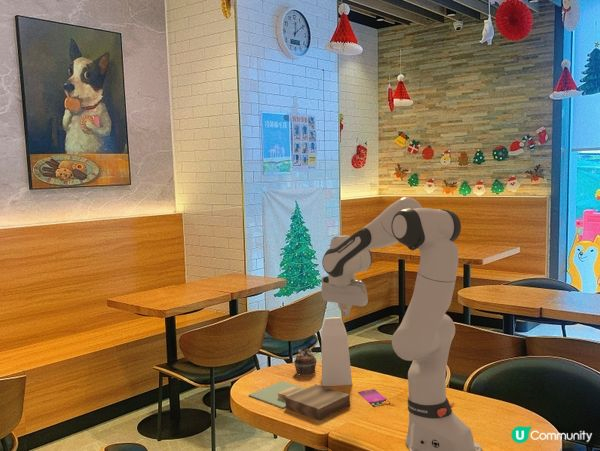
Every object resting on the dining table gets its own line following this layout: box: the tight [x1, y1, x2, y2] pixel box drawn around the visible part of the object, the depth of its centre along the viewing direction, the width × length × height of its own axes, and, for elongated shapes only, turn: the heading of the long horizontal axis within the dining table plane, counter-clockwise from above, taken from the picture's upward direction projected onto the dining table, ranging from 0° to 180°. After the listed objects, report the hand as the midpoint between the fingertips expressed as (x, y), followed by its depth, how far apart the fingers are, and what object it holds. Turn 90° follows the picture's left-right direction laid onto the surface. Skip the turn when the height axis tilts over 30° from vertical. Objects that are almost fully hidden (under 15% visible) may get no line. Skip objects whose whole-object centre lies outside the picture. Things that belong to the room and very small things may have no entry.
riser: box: [285, 384, 351, 421], centre depth 204 cm, size 17×16×4 cm
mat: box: [248, 380, 306, 409], centre depth 218 cm, size 20×18×1 cm
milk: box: [320, 316, 353, 387], centre depth 229 cm, size 12×12×26 cm
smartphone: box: [357, 388, 388, 408], centre depth 209 cm, size 7×15×1 cm, turn 16°
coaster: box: [278, 387, 302, 400], centre depth 213 cm, size 8×8×2 cm
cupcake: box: [293, 347, 318, 376], centre depth 241 cm, size 10×10×10 cm
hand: (345, 315), depth 210 cm, fingers closed
